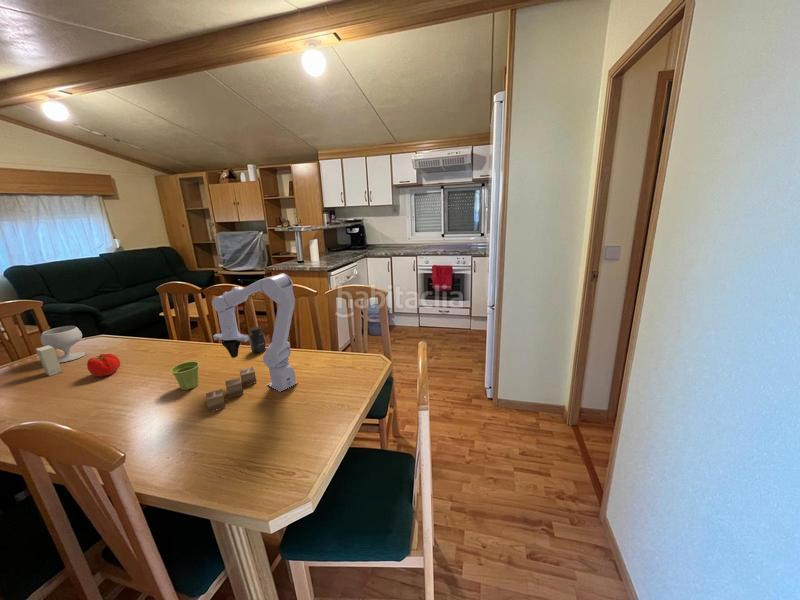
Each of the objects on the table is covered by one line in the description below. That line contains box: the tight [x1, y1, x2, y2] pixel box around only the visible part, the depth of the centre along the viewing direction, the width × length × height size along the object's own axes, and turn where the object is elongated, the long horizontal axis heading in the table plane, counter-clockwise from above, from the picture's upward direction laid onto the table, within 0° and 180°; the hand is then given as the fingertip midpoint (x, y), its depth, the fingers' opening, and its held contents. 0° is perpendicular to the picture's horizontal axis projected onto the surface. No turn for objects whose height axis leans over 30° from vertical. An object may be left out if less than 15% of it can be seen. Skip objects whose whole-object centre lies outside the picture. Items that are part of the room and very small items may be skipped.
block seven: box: [239, 366, 257, 387], centre depth 129 cm, size 5×5×5 cm
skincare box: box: [35, 345, 63, 376], centre depth 142 cm, size 6×4×12 cm
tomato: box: [86, 353, 121, 377], centre depth 140 cm, size 11×11×9 cm
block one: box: [205, 388, 226, 412], centre depth 113 cm, size 5×5×5 cm
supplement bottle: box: [248, 326, 267, 355], centre depth 157 cm, size 7×7×12 cm
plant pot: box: [170, 360, 200, 391], centre depth 126 cm, size 9×9×9 cm
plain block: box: [224, 376, 244, 399], centre depth 121 cm, size 5×5×5 cm
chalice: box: [40, 325, 86, 364], centre depth 157 cm, size 14×14×15 cm
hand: (234, 356), depth 128 cm, fingers closed
